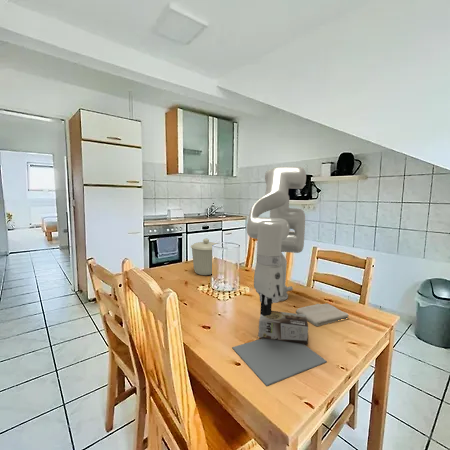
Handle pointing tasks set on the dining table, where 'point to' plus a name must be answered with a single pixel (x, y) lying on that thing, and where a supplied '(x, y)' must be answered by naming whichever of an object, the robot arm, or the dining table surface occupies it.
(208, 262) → the canister
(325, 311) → the washcloth
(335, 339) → the dining table surface
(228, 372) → the dining table surface
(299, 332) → the coffee box
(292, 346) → the mat
